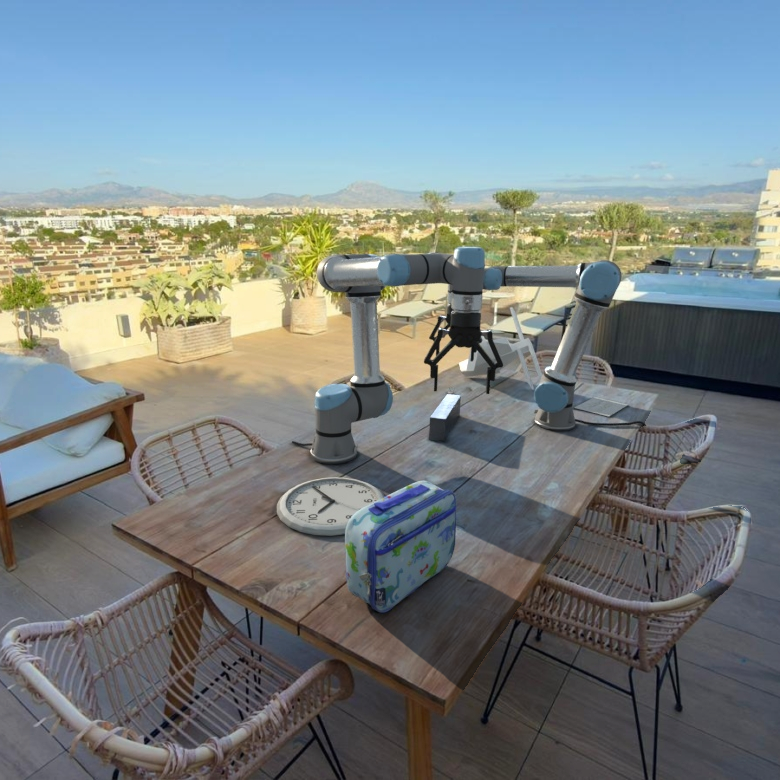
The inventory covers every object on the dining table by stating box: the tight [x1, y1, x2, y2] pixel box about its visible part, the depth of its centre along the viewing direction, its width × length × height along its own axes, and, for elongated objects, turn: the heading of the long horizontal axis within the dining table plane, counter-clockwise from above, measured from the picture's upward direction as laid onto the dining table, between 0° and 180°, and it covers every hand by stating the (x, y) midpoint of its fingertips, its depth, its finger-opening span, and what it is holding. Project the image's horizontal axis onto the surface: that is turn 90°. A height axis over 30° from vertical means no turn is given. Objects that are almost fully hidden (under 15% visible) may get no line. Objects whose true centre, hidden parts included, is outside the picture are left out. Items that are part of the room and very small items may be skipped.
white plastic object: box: [458, 306, 543, 391], centre depth 259 cm, size 37×45×31 cm
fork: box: [447, 386, 455, 395], centre depth 237 cm, size 3×16×2 cm, turn 160°
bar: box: [428, 393, 462, 443], centre depth 199 cm, size 29×6×9 cm, turn 162°
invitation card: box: [573, 396, 629, 418], centre depth 226 cm, size 21×1×15 cm
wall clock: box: [276, 476, 386, 537], centre depth 142 cm, size 30×2×30 cm
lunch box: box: [344, 480, 457, 614], centre depth 109 cm, size 26×11×21 cm, turn 135°
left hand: (461, 391), depth 138 cm, fingers open, 13 cm apart
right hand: (454, 359), depth 202 cm, fingers open, 13 cm apart
